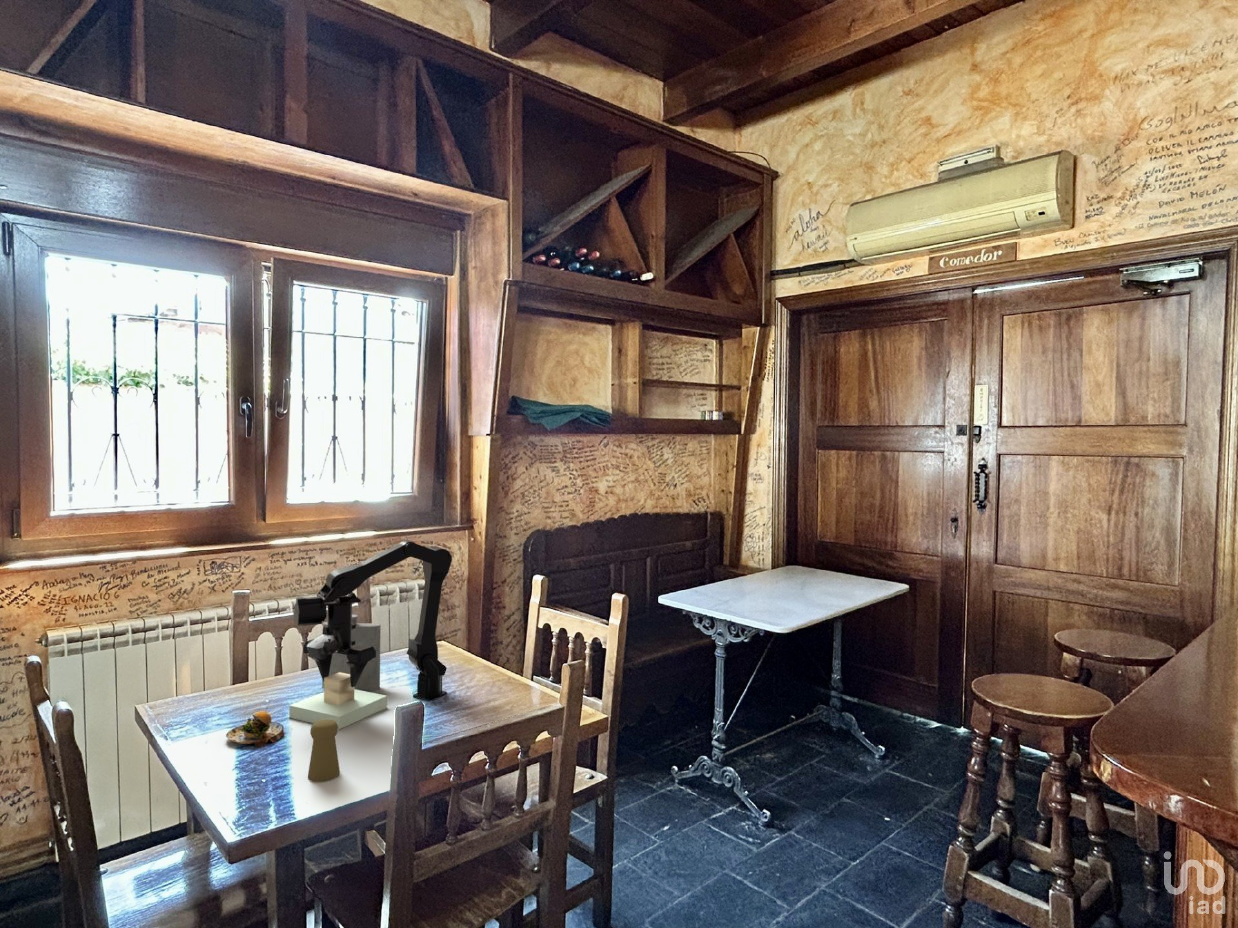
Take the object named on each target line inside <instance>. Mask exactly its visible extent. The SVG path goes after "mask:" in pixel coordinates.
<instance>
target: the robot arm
mask: <svg viewBox="0 0 1238 928" xmlns="http://www.w3.org/2000/svg"><path fill="white" fill-rule="evenodd" d="M408 558H413V559H417V560H419V561H422V571H423V575H424V585H423V586H424V587H423V593H422V600H421V608H420V614H419V615H420V616H419V622H418V629H417V633H416V635H415V637H414V638H409V639H408V648H407V650H406V655H407V656H408V660H409V662H410V663H411V664H412V665H413V666H414V667H415V669H416V671H418V672H419V673H418V674H417V682H416V684H417V686H416V687H417V689H416V690H417V691H416V693H414V694H413V695H412V697H413V698H416V699H421V700H422V699H423V700H427V701H434V700H437V699H438V698H440V697H444V696H445V695H447V694H448V692H447V691H446V690H443V676H445V675H446V672H447V668H448V667H447V666H446V665H445V664H443V662H441V661H440V660H439V648H438V642H437V637H436V632H437V625H438V618H439V612H440V606H441V605H440V603H441V596H442V591H443V583H444V581H445V579H446V578H447V575H448V574H449V572H450V569H451V565H452V563H453V556H452V554H451V552H450V550H448V549H445V548H443V547H440V546H436V545H432V546H429V547H427V546H424V545H421V544H418V543H416V542H415V541H411V540H408V539H404V540H402V541H401V542H400V543H398V544H396V545H394V546H391V547H389V548H388V549H385V550H384V551H382V552H379V553H377V554H376V555H373V556H371V557H369V558H368V559H365V560H363V561H361V562H359V563H356V564H353V565H347V566H343V567H340V568H337V569H336V568H335V569H334V570H331V571H330V572H329V573H328V574H327V575H326V578H325V583H324V584H323V586H322V587H321V589H320V590H319V591H318V593H317V594H316V596H310V597H309V596H308V597H296V598H295V599H296V600H295V604H294V609H293V613H292V615H293V622H294V626H295V627H296V628H298V627H306V626H314V625H322V624H323V622H327V626H325V627H324V629H323V628H322V632H321V635H319V636H317V637H316V638H313V639H310V640H306V641H305V643H304V644H303V651H302V652H303V654H307V657H308V658H311V659H312V660H313V661H315V664H316V666H317V669H318V671H319V674H320V677H321V679H322V680H323V682H324V678H325V677H328V676H329V671H330V666H331V660H332V654H333V653H339V654H345V655H347V659H348V660H349V662H346V663H347V664H348V666H349V667H350V683H351V687H355V686H356V684H357V682H358V680H359V678H360V676H361V673H362V671H363V670H364V668H365V666H366V665H367V663H368V661H371V660H372V659H373V658H375V657H376V649H375V648H374V647H373V646H368V645H360V646H357V647H354V648H352V647H351V646H353V645H355V640H352V629H355V628H356V624H352V614H353V604H357V603H358V604H359V603H361V602H362V600H361V599H360V598H359V597H358V596H357V595H356V594H355V592H354V591H356V590H357V589H358V588H360V587H361V586H362V585H363V584H364V583H365V581H367V580H368V579H370V578H371V577H373V576H375V575H377V574H379V573H381V572H383V571H385V570H388V569H389V568H391V567H392V566H395V565H397V564H399V563H400V562H402V561H405V560H407V559H408ZM326 619H327V621H325V620H326ZM322 680H321V681H322Z"/></svg>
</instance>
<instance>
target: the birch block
mask: <svg viewBox="0 0 1238 928" xmlns="http://www.w3.org/2000/svg"><path fill="white" fill-rule="evenodd" d="M323 692H324V702H326V703H330V704H335V705H341V704H344V703H346V702H349V701H351V700H353V699H354V687H351V683H350V674H345V673H340V672H339V673H336V674H334V675H331V676H328V677H325V678H324V688H323Z"/></svg>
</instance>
